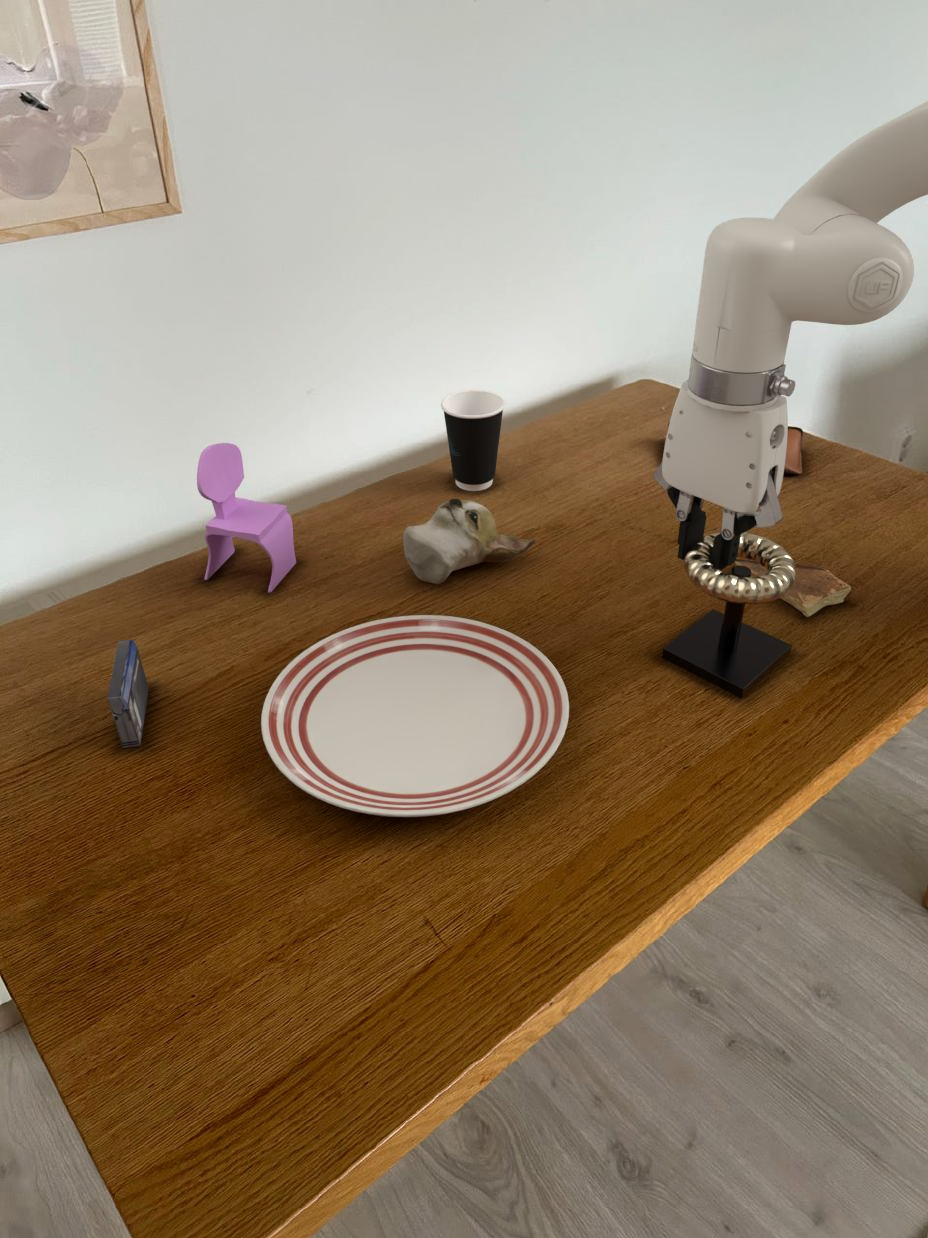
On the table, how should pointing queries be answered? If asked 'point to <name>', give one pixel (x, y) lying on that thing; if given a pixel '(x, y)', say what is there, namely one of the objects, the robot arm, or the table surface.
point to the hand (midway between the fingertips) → (705, 558)
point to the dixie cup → (473, 436)
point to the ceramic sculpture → (458, 541)
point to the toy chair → (241, 514)
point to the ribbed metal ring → (742, 587)
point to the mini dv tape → (128, 694)
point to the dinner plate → (415, 716)
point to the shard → (807, 587)
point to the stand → (727, 648)
